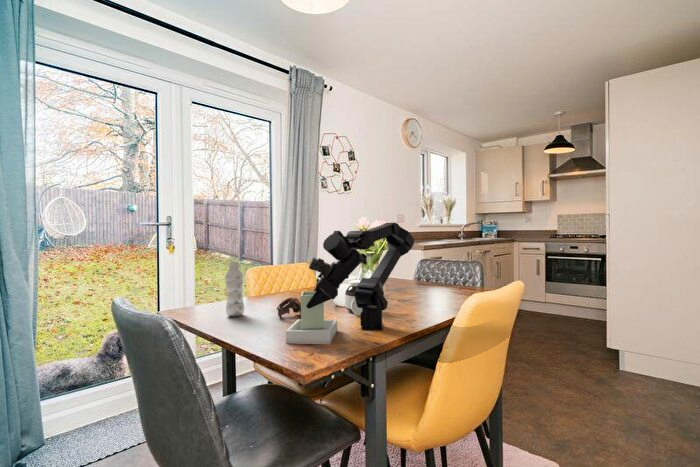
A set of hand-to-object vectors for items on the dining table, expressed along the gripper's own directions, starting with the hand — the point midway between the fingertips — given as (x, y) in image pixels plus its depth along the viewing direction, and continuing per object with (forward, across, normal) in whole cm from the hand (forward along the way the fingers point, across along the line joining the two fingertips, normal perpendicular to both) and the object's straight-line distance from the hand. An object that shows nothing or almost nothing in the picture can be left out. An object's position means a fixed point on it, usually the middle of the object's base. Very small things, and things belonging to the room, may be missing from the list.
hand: (307, 304), depth 105 cm
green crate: (+4, 0, +6) cm, 7 cm away
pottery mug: (+12, -25, +2) cm, 28 cm away
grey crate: (+6, 0, +8) cm, 10 cm away
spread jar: (-6, -28, +20) cm, 35 cm away
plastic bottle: (+27, -29, -13) cm, 42 cm away
